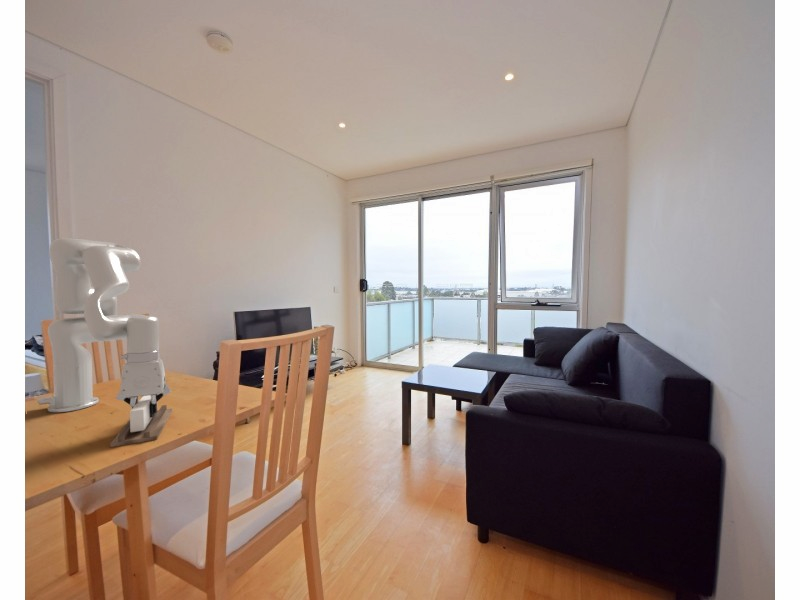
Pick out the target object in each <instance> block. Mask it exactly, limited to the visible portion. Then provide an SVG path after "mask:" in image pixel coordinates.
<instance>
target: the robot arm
mask: <svg viewBox="0 0 800 600" xmlns="http://www.w3.org/2000/svg"><path fill="white" fill-rule="evenodd" d="M48 252H49V254H48V255H49V258H50V262H51V265H52V266H53V269H54V273H55V289H54V291H55V292H54V293H55V295H54V296H55V297H54V298H55V299H54V302H55V303H54V304H55V308H56V311H58V312H59V313H61V314H66V315H80V314H81V315H82V314H83V316H77V317H76V316H75V317H74V316H73V317H64V318H60V319H59V318H58V319H56V320H54V321H52V322H50V324H49V325H48V327H47V334H48V335H47V336H48V339H49V342H50V347H51V352H52V353H51V354H52V367H53V368H52V369H53V370H52V371H53V375H52V376H53V377H52V378H53V395H51V396H48V397H47V396H46V397H39V398H38V400H37V403H38V404H39V406H41V405H47V404H48V407H47V412H50V413H65V412H66V413H67V412H72V411H78V410H82V409H86V408H88V407H91V406H94V405H96V404H98V403H99V402H100V401H99V400H100V399H99V397H97V396H93V392H94V390H93V365H92V364H93V362H92V361H93V358H92V354H91V352H90V351H89V349H87V348H86V347H84V346H83V344H88V343H97V342H112V341H121V340H126V351H127V352H126V353H124V354H121V355H120V359H121V360H125V362H124V363H123V365H122V370H121V376H120V377H121V378H120V390H119V392H118V393H117V395H116V396H115V399H116V400H118V401H122V402H123V401H124V402H125V403H126V404H128V405H129V407H131V409H132V408H133V407H134V406H135V405H136V404H137V403H138V402H139V397H143V396H147V395H150V396H151V404H150V417H153V416H154V414H155V413H157V411H158V402H159V401H160V400H161V399H162V398H163V397H165V396H166V395H168V394H170V393H171V392H172V389H171V388H170V386H169V385H168V384H167V382H166V373H165V372H166V371H165V366H164V362H163V359H161V358H160V321H159V318H158V317H157V316H153V315H147V314H142V313H133V314H131V313H130V314H129V313H128V314H118V298H117V297H118V296H121V295H123V294H125V293H126V292H127V291H128V290H129V289H130V287H131V285H130V281H129V280H128V277H127V275H126V273H135V272H138V271H139V269H140V268H141V264H142V261H141V257H140V255H139V253H138V252H137V251H136V250H135V249H133V248H131V247H127V246H126V245H123V244H119V243H116V242H111V241H104V240H103V241H102V240H92V239H86V238H74V237H73V238H71V237H60V238H57V239H54V240H53V241H52V242H51V244H50V246H49V249H48ZM92 286H93V287H92Z"/></svg>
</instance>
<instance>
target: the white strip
mask: <svg viewBox="0 0 800 600" xmlns="http://www.w3.org/2000/svg"><path fill="white" fill-rule="evenodd" d="M150 404H151V396H150V395H147V396H141V398H140V399H138V403H137V404H136V405H135V406H134V407H133V408H132V407H131V409H130V411H129V420H130V432H136V431H142V430H144V429H145V428H146V426H147V425H148V423H149V422H150V420H151V419H152V417H150Z"/></svg>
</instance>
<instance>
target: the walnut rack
mask: <svg viewBox="0 0 800 600" xmlns="http://www.w3.org/2000/svg"><path fill="white" fill-rule="evenodd" d="M172 413H173V408H167V404H165V405H164V404H163V405H161V406H160V408H159V410H158V409H157V413H155V414H154V416H153V417H152V419H151V420H150V422H149V423H148V425H147V426H146V428H145V429H144V430H142V431H136V432H130V419H129V420H128V422H127V423H126V424H125V425H124V426H123V428H122V429H121V430H120V431H119V433H118V434H117V435H116V436H115V438H113V440H112V441H111V442H110V444H109V445H110V446H109V447H110V448H114V447H119V446H120V447H121V446H126V445H131V444H132V445H133V444H137V443H143V442H149V441H155V440H156V441H157V440H158V439H159V437H160V435H161V433H162V431H163V430H164V428H165V426H166V424H167V422H168V420H169V418H170V416H171V415H172Z"/></svg>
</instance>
